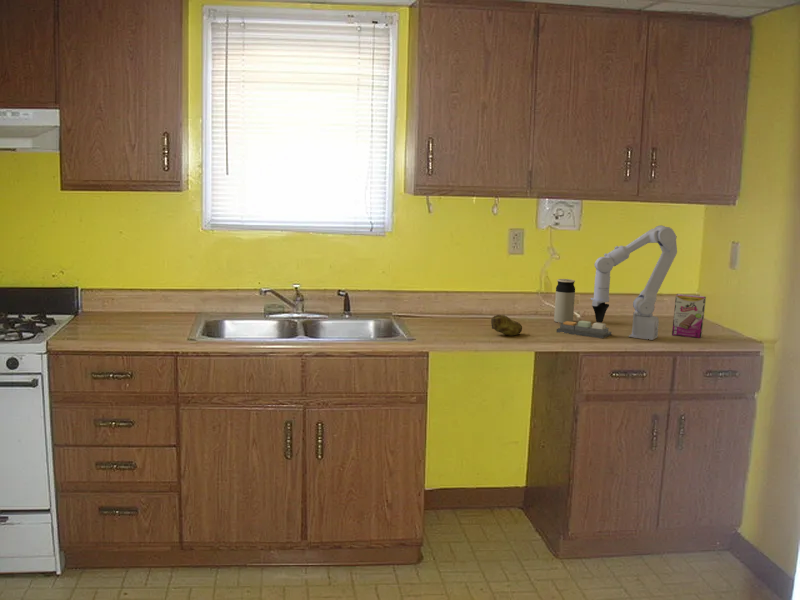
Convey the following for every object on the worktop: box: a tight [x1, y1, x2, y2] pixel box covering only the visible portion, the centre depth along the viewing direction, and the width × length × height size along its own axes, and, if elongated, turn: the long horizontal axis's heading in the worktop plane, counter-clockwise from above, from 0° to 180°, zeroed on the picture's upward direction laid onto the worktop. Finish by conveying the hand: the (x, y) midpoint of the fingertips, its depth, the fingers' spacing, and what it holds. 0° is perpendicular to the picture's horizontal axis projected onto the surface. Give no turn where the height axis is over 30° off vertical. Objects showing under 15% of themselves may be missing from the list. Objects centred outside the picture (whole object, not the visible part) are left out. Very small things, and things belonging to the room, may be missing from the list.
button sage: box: [577, 320, 592, 327], centre depth 326 cm, size 4×4×2 cm
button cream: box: [592, 322, 607, 329], centre depth 323 cm, size 4×4×2 cm
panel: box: [556, 322, 612, 339], centre depth 326 cm, size 19×10×3 cm, turn 58°
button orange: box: [563, 321, 578, 326], centre depth 329 cm, size 4×4×2 cm
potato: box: [490, 314, 523, 337], centre depth 318 cm, size 8×13×8 cm, turn 95°
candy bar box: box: [671, 293, 707, 339], centre depth 327 cm, size 11×5×16 cm, turn 66°
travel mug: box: [553, 278, 576, 324], centre depth 348 cm, size 8×8×18 cm
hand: (599, 322), depth 323 cm, fingers closed
